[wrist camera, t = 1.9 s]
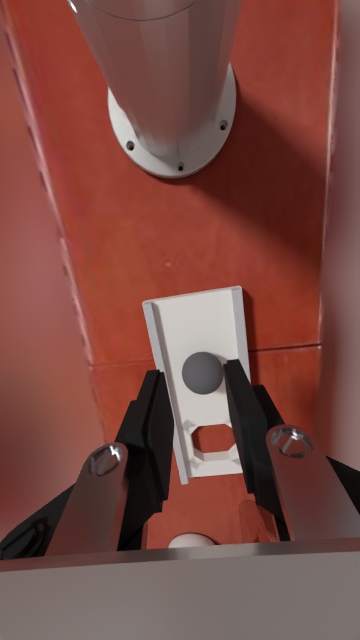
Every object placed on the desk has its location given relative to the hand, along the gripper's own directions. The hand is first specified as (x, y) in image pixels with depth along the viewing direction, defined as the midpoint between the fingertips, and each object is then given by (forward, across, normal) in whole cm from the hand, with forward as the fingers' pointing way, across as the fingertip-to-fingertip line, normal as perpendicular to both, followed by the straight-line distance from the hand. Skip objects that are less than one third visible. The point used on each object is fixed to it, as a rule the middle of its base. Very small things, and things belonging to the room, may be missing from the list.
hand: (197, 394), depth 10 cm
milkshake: (+19, -4, +36) cm, 41 cm away
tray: (+19, 0, +12) cm, 23 cm away
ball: (+15, 0, +8) cm, 17 cm away
